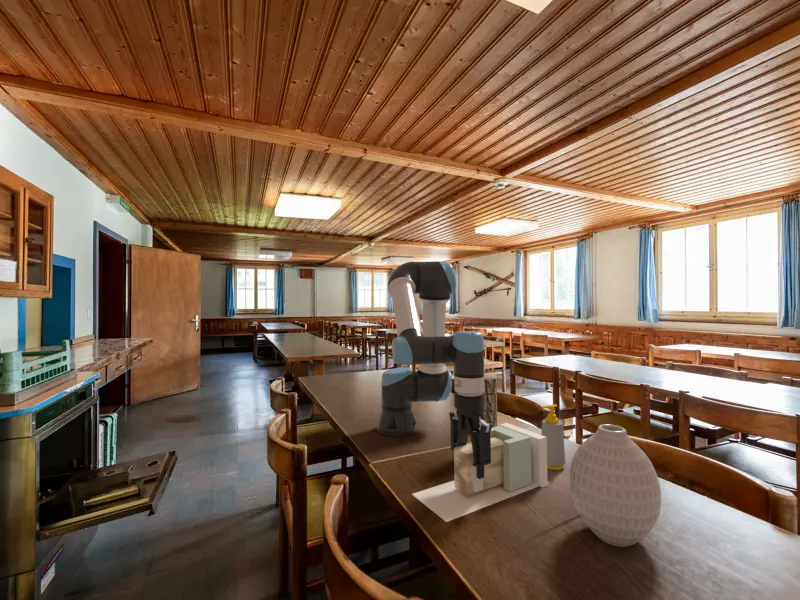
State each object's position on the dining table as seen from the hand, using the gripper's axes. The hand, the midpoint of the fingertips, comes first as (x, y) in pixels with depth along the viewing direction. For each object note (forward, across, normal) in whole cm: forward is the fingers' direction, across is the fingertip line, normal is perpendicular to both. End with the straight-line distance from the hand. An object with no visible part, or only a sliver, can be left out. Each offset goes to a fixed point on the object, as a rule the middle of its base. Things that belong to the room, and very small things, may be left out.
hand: (470, 485), depth 93 cm
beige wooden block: (+1, 0, +4) cm, 5 cm away
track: (+2, 0, +4) cm, 5 cm away
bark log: (+3, -17, +22) cm, 28 cm away
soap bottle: (+3, 0, +32) cm, 32 cm away
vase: (+3, +28, +14) cm, 31 cm away
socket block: (+1, 0, +12) cm, 12 cm away
